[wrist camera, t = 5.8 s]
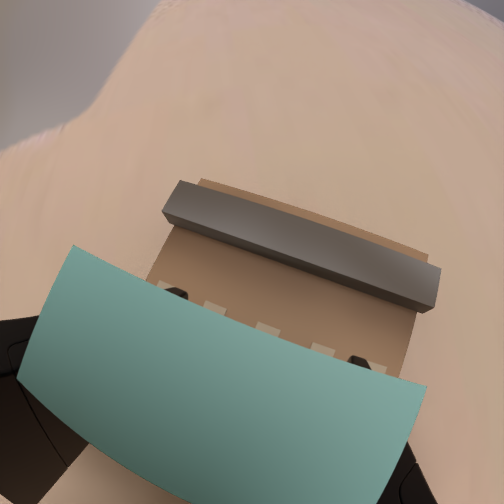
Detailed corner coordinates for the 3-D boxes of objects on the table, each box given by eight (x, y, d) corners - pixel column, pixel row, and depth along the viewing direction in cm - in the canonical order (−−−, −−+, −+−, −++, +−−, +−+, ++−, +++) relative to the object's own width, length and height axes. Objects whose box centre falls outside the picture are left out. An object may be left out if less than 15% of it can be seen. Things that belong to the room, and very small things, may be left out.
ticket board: (382, 390, 13) (410, 392, 10) (153, 300, 16) (123, 281, 12) (415, 272, 15) (444, 246, 12) (205, 199, 18) (190, 162, 15)
